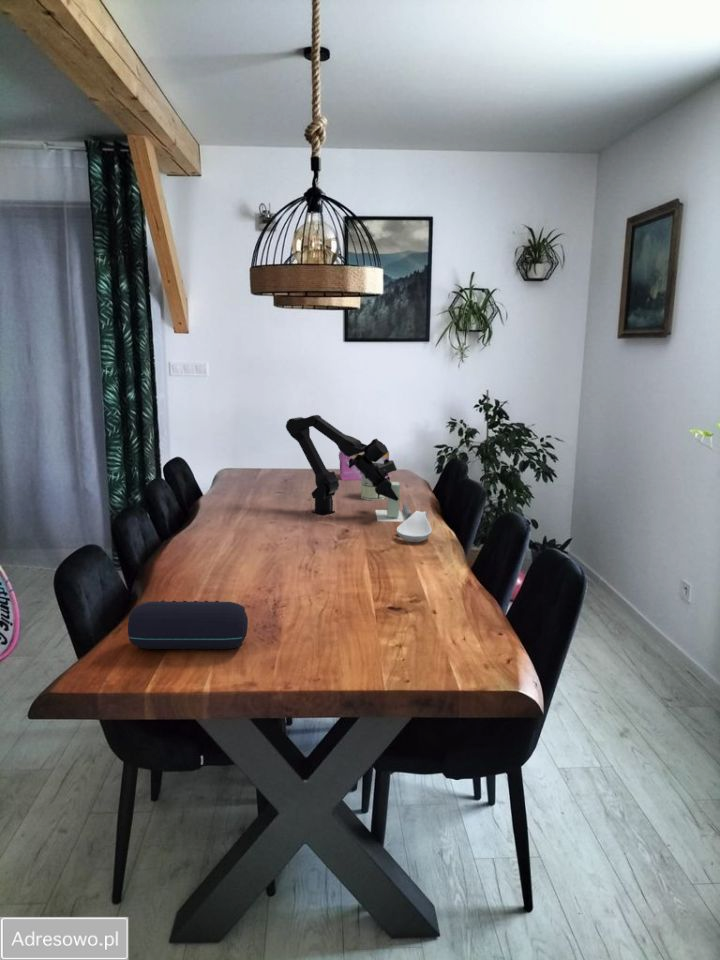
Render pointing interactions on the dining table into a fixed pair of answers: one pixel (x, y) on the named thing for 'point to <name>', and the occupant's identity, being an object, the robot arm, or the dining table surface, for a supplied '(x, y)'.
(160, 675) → the dining table surface
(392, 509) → the green carton
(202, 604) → the portable speaker
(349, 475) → the pink printed box
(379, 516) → the white plate with rail
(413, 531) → the spoon rest
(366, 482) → the coffee can
